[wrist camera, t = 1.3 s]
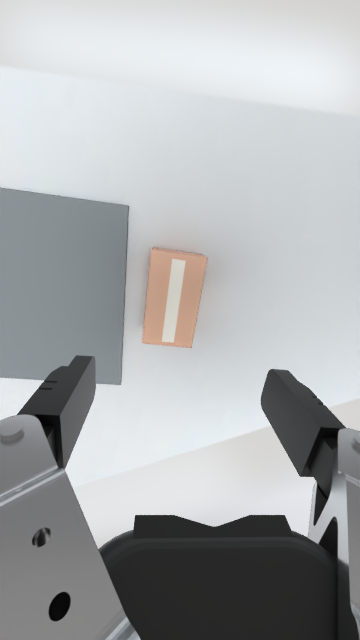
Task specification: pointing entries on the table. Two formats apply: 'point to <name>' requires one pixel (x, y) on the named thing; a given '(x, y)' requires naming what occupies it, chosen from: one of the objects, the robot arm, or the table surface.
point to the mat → (61, 284)
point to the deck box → (173, 297)
